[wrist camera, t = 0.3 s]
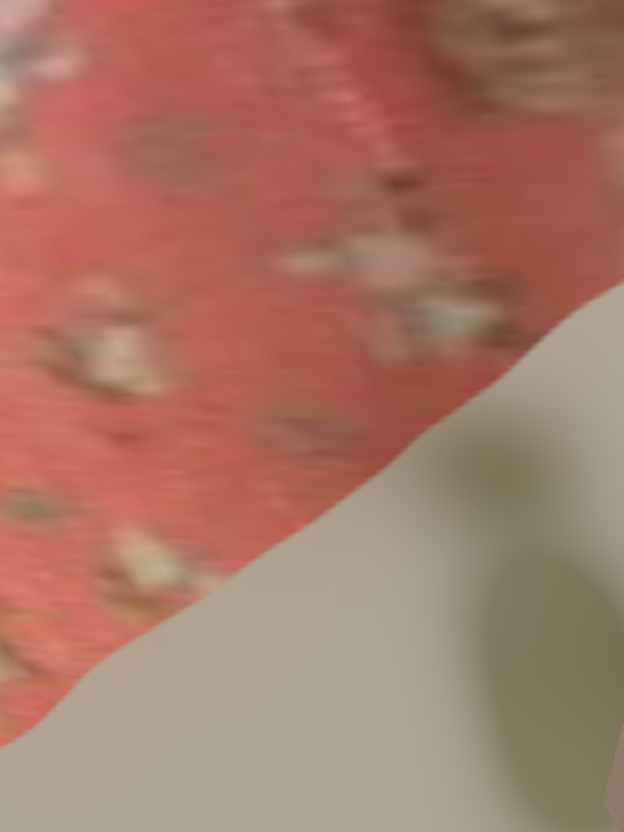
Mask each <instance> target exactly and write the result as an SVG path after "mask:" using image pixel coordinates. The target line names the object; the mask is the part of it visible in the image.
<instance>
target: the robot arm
mask: <svg viewBox="0 0 624 832" xmlns="http://www.w3.org/2000/svg"><path fill="white" fill-rule="evenodd" d="M603 804H604V806H605V808H606V809H607V811H608V813H609V814H610V816H611V818H612V819H613V821H614V823H615V825H616V826H617V828H618V830H619V831H620V832H624V720H623V725H622V729H621V733H620V737H619V741H618V745H617V749H616V754H615V758H614V762H613V766H612V770H611V774H610V778H609V782H608V786H607V790H606V795H605V798H604V803H603Z"/></svg>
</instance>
